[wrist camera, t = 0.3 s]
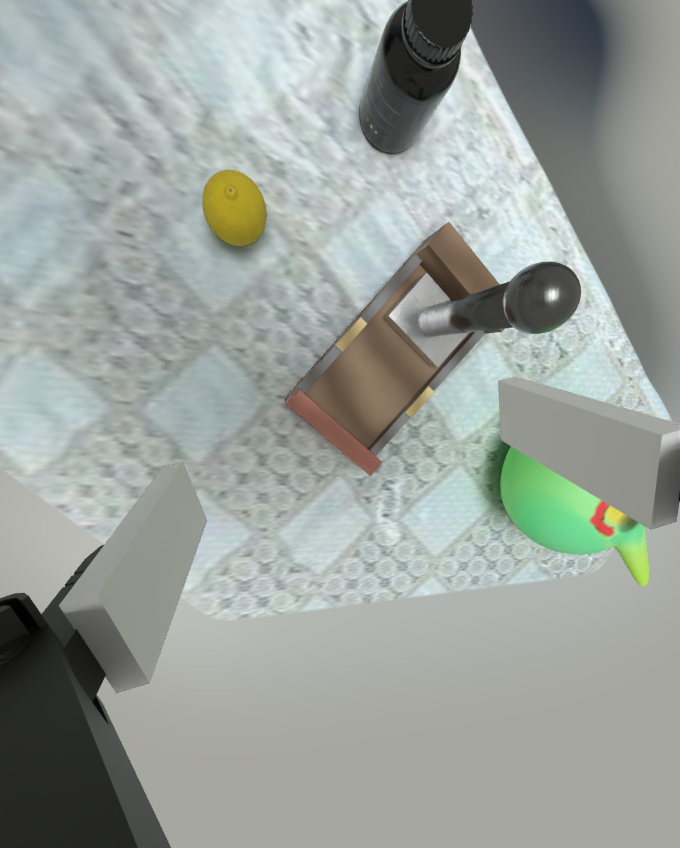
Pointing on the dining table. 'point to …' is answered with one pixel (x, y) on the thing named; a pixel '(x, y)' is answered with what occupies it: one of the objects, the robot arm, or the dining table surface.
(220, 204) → the lemon
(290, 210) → the dining table surface
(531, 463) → the toy bird
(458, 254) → the press base
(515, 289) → the press handle
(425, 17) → the supplement bottle
